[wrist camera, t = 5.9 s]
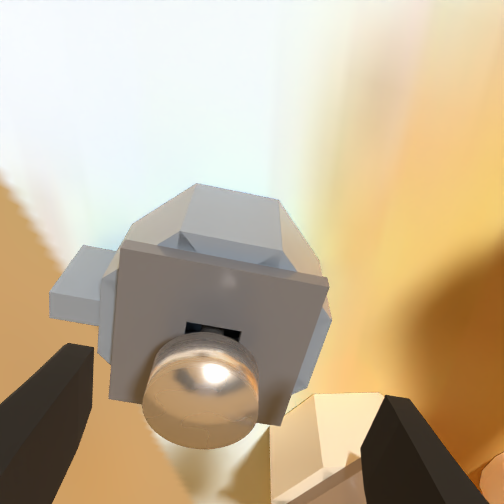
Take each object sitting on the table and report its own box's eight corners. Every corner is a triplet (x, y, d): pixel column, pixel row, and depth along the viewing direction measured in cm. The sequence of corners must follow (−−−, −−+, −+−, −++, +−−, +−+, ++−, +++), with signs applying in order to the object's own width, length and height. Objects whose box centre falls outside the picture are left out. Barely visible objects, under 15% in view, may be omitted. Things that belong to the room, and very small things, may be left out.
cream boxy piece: (240, 447, 27) (237, 534, 23) (347, 369, 24) (366, 452, 19) (358, 518, 30) (374, 606, 26) (466, 457, 27) (505, 546, 23)
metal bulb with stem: (267, 258, 20) (269, 378, 13) (250, 323, 21) (245, 456, 15) (184, 242, 19) (148, 358, 13) (174, 309, 21) (137, 439, 15)
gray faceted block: (335, 211, 19) (356, 273, 15) (287, 357, 23) (292, 440, 19) (90, 161, 19) (37, 212, 14) (84, 322, 23) (42, 400, 18)
